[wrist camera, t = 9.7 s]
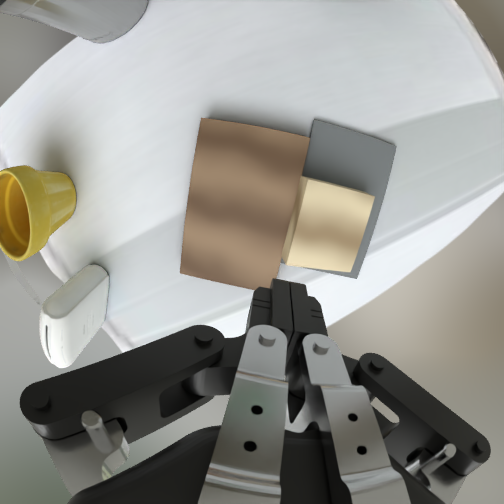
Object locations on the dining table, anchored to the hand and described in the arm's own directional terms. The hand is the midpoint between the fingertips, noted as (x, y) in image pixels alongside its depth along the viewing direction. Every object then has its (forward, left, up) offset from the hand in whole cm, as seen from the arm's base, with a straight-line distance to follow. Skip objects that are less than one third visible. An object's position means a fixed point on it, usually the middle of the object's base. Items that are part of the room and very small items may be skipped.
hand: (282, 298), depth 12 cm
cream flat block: (0, +4, -15) cm, 16 cm away
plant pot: (+3, -28, -16) cm, 33 cm away
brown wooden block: (0, -4, -16) cm, 17 cm away
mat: (-2, +6, -16) cm, 17 cm away
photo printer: (+16, -22, -16) cm, 32 cm away
